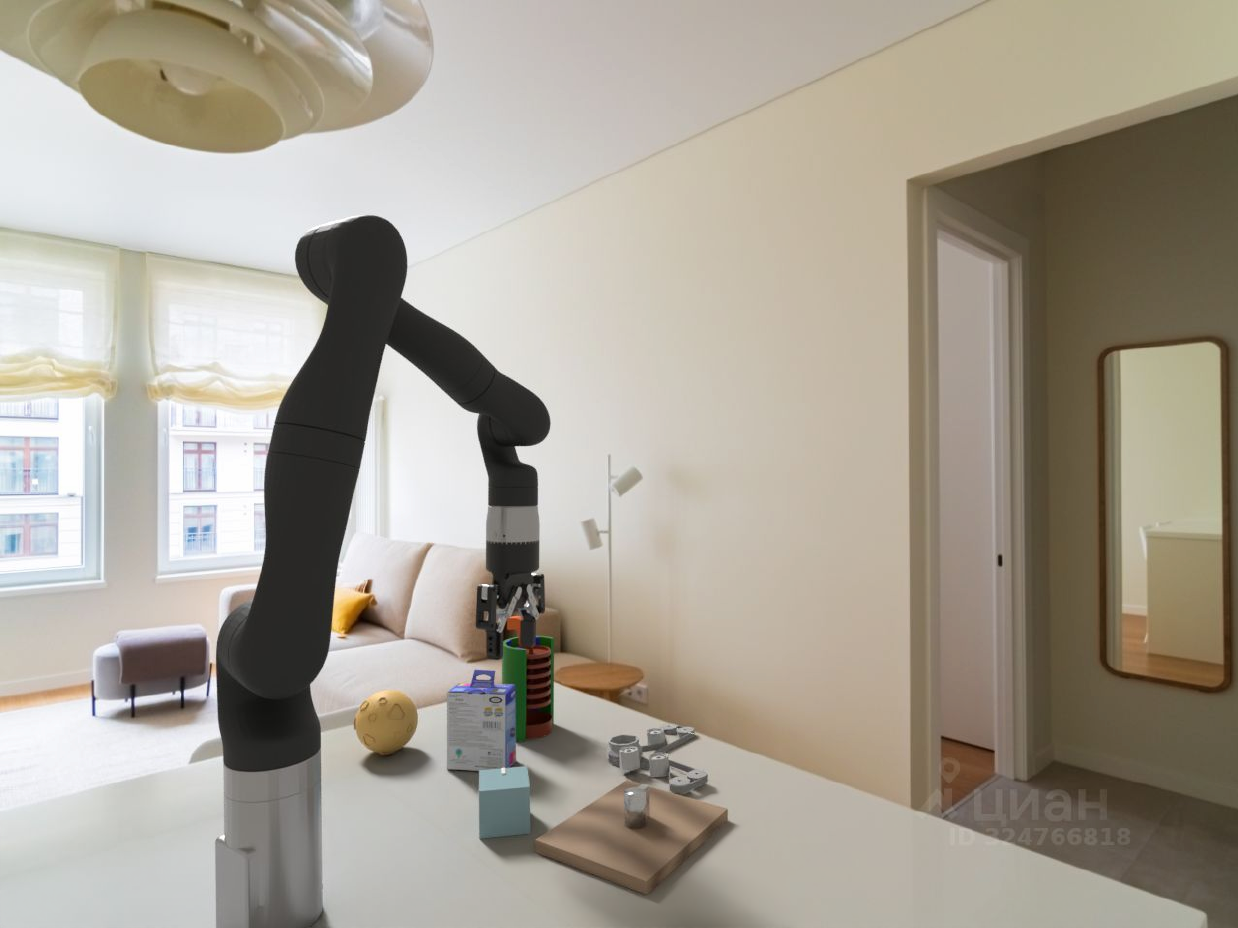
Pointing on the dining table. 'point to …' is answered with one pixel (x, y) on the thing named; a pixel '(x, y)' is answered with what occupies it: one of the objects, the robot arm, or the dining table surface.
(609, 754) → the pulley system
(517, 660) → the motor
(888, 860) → the dining table surface
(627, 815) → the shaft
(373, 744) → the stress ball
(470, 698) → the ink cartridge box
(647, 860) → the mounting plate
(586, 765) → the dining table surface
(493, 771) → the mini blue cabinet
